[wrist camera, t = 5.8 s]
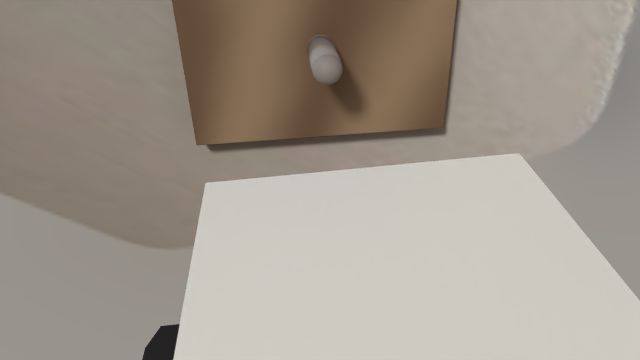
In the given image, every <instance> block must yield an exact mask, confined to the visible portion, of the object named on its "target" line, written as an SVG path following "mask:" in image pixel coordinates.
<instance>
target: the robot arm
mask: <svg viewBox="0 0 640 360" xmlns="http://www.w3.org/2000/svg"><path fill="white" fill-rule="evenodd" d="M179 326H180V324H177V325H168V326H161V327H160V328H159V330H158V331H157V333H156V334H155V335H154V337H153V338H152V339H151V341H150V342H149V344H148V345H147V347H146V348H145V352H144V355H143V360H173V358H174V353H175V347H176V342H177V337H178V331H179Z"/></svg>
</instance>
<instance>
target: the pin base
mask: <svg viewBox="0 0 640 360" xmlns="http://www.w3.org/2000/svg"><path fill="white" fill-rule="evenodd" d="M172 3H173V9H174V15H175V20H176V26H177V32H178V38H179V44H180V50H181V56H182V62H183V68H184V74H185V79H186V85H187V91H188V97H189V103H190V109H191V115H192V121H193V127H194V133H195V138H196V144H197V145H208V144H222V143H236V142H250V141H264V140H277V139H291V138H305V137H319V136H333V135H346V134H360V133H374V132H388V131H402V130H416V129H429V128H443V127H444V119H445V109H446V100H447V90H448V81H449V71H450V62H451V52H452V43H453V33H454V23H455V14H456V4H457V0H172Z"/></svg>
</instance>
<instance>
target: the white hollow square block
mask: <svg viewBox="0 0 640 360" xmlns="http://www.w3.org/2000/svg"><path fill="white" fill-rule="evenodd" d="M173 360H640V301H639V300H638V298H637V297H636V296H635V295H634V293H633V292H632V291H631V290H630V288H629V287H628V286H627V285H626V284H625V282H624V281H623V280H622V279H621V278H620V276H619V275H618V274H617V273H616V271H615V270H614V269H613V268H612V266H611V265H610V264H609V263H608V262H607V260H606V259H605V258H604V257H603V255H602V254H601V253H600V252H599V251H598V249H597V248H596V247H595V246H594V244H593V243H592V242H591V241H590V239H589V238H588V237H587V236H586V235H585V233H584V232H583V231H582V230H581V228H580V227H579V226H578V225H577V224H576V222H575V221H574V220H573V219H572V217H571V216H570V215H569V214H568V212H567V211H566V210H565V209H564V208H563V206H562V205H561V204H560V203H559V201H558V200H557V199H556V198H555V197H554V195H553V194H552V193H551V192H550V190H549V189H548V188H547V187H546V186H545V184H544V183H543V182H542V181H541V179H540V178H539V177H538V176H537V175H536V173H535V172H534V171H533V170H532V168H531V167H530V166H529V165H528V164H527V162H526V161H525V160H524V159H523V157H522V156H521V155H520V154H519V153H516V154H506V155H495V156H485V157H474V158H464V159H453V160H443V161H432V162H422V163H411V164H401V165H390V166H380V167H369V168H359V169H348V170H338V171H327V172H317V173H306V174H296V175H285V176H275V177H264V178H254V179H243V180H233V181H222V182H212V183H206V184H205V189H204V195H203V200H202V206H201V211H200V216H199V222H198V227H197V233H196V238H195V244H194V249H193V255H192V260H191V266H190V271H189V276H188V283H187V287H186V293H185V298H184V304H183V310H182V315H181V321H180V326H179V331H178V337H177V342H176V347H175V353H174V358H173Z"/></svg>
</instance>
